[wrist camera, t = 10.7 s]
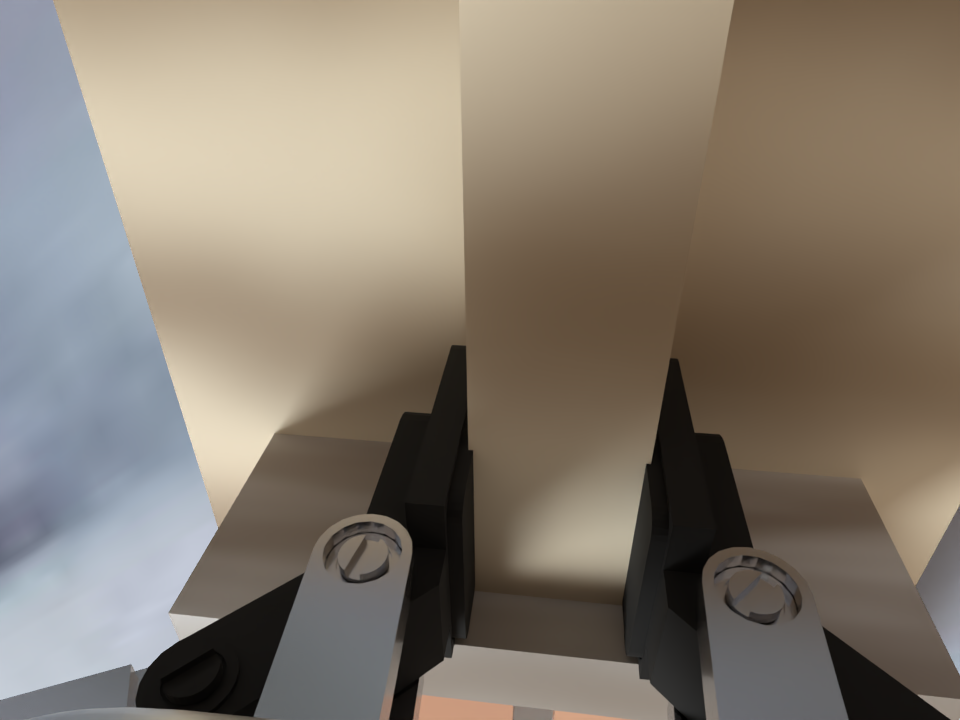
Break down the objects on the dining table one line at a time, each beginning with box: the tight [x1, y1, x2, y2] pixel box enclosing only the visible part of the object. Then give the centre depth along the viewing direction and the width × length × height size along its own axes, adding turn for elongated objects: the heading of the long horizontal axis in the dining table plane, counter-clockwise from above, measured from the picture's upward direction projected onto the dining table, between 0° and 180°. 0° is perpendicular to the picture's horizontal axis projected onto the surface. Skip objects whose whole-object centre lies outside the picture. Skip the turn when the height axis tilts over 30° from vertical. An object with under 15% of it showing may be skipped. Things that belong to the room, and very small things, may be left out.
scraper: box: [168, 0, 960, 720], centre depth 9 cm, size 12×12×4 cm
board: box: [53, 0, 960, 586], centre depth 13 cm, size 14×16×3 cm
